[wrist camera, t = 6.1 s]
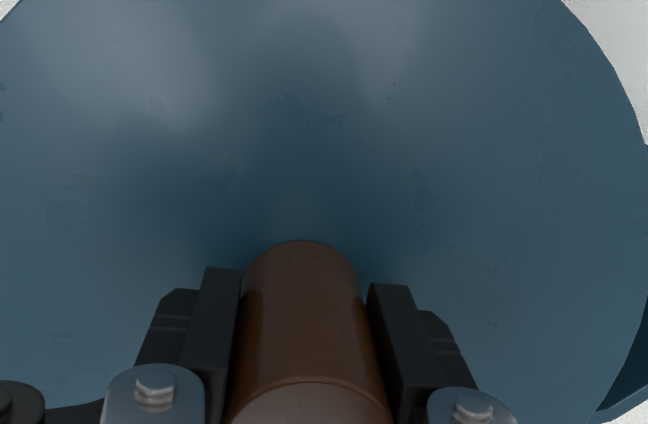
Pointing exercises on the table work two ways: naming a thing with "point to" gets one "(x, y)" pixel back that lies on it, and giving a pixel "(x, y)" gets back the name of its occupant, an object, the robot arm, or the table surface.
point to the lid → (320, 194)
